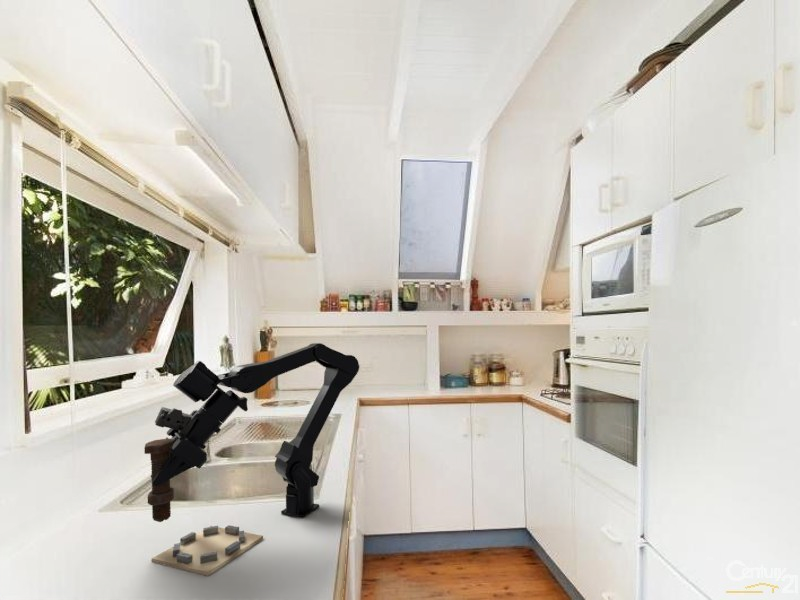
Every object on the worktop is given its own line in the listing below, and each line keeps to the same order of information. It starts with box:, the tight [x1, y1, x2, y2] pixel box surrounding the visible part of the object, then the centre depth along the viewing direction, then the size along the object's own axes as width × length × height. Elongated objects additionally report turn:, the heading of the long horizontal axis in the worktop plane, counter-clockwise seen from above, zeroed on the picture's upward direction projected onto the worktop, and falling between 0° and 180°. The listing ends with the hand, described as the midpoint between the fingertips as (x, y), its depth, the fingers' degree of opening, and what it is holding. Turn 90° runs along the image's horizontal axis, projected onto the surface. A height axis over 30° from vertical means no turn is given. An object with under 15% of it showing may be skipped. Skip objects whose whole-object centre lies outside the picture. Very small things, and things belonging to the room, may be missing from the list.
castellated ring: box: [172, 524, 245, 564], centre depth 84 cm, size 13×13×1 cm
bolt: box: [144, 437, 175, 523], centre depth 85 cm, size 6×5×15 cm
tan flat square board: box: [151, 525, 264, 577], centre depth 84 cm, size 14×14×1 cm
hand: (152, 481), depth 84 cm, fingers closed on bolt, 5 cm apart
